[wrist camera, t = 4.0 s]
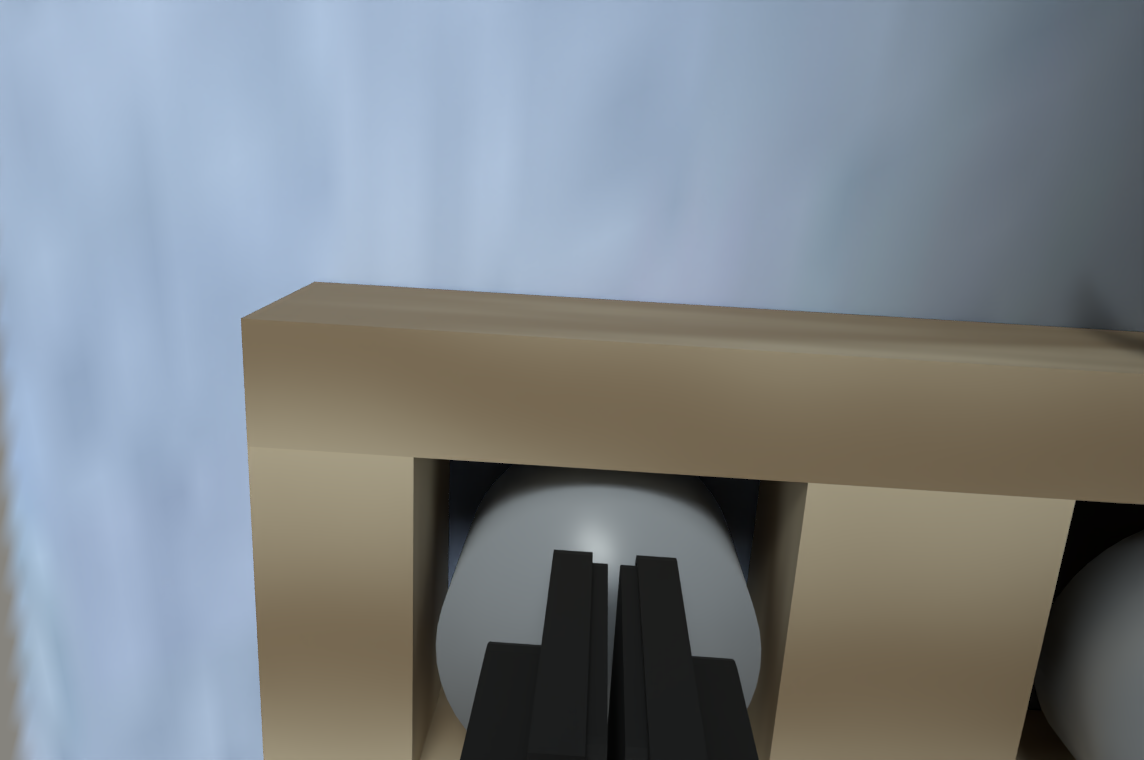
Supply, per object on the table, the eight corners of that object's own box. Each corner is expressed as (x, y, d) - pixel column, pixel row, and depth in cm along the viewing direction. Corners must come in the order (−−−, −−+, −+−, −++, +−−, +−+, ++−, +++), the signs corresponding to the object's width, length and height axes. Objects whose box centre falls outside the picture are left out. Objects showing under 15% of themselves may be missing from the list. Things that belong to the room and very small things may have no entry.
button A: (469, 428, 14) (437, 495, 12) (746, 445, 14) (779, 518, 12) (463, 668, 16) (434, 780, 13) (718, 686, 15) (742, 802, 13)
